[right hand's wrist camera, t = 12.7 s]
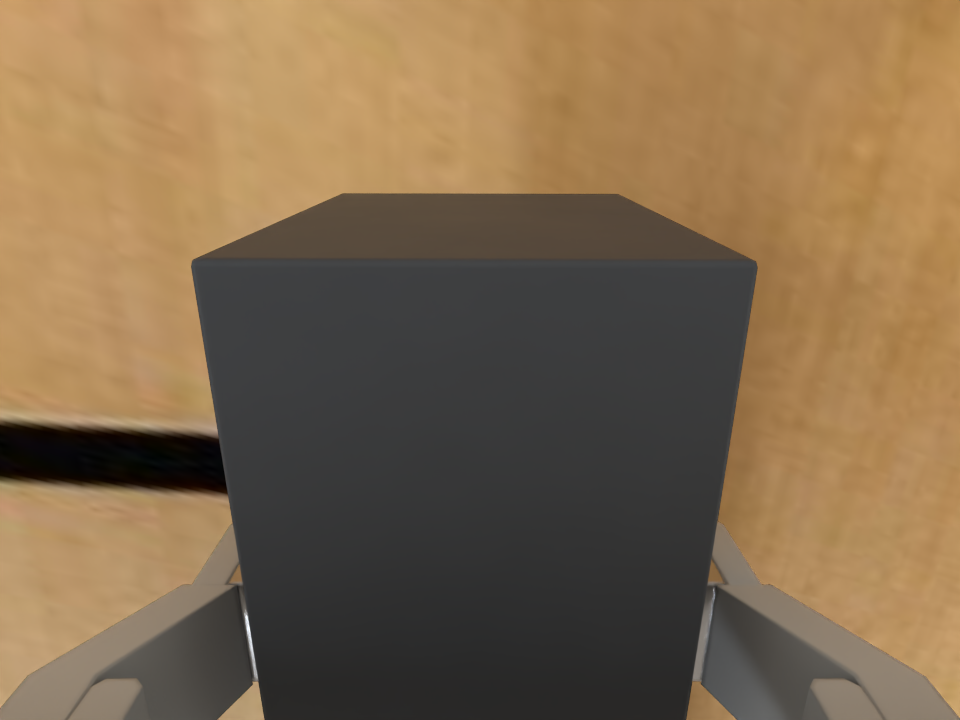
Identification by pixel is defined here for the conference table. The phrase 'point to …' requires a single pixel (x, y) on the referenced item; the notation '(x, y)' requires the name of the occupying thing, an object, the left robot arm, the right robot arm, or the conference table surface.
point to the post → (474, 451)
